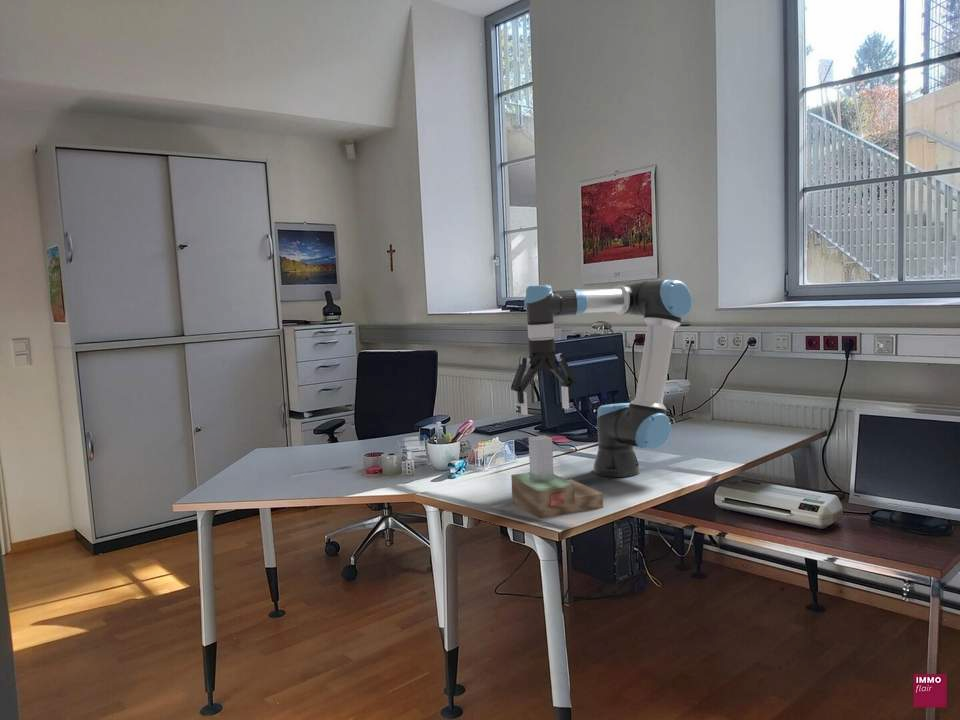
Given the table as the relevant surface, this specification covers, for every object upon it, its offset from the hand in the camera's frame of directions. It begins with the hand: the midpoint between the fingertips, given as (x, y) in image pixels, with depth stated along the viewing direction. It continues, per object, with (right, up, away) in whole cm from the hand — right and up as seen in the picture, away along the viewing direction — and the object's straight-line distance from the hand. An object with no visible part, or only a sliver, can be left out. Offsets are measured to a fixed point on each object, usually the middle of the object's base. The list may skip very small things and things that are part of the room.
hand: (545, 411), depth 212 cm
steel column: (-1, -19, -4) cm, 20 cm away
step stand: (+3, -27, -2) cm, 27 cm away
